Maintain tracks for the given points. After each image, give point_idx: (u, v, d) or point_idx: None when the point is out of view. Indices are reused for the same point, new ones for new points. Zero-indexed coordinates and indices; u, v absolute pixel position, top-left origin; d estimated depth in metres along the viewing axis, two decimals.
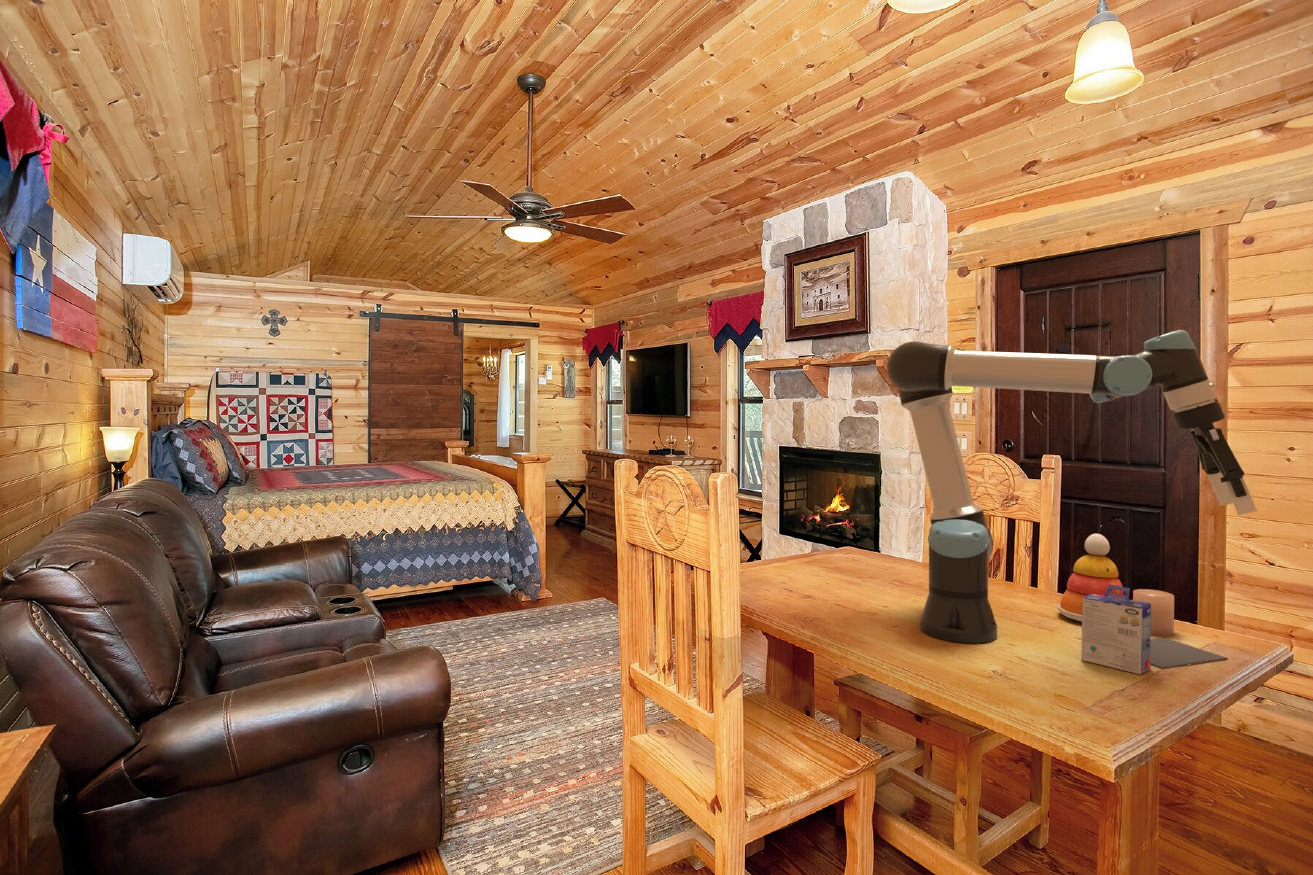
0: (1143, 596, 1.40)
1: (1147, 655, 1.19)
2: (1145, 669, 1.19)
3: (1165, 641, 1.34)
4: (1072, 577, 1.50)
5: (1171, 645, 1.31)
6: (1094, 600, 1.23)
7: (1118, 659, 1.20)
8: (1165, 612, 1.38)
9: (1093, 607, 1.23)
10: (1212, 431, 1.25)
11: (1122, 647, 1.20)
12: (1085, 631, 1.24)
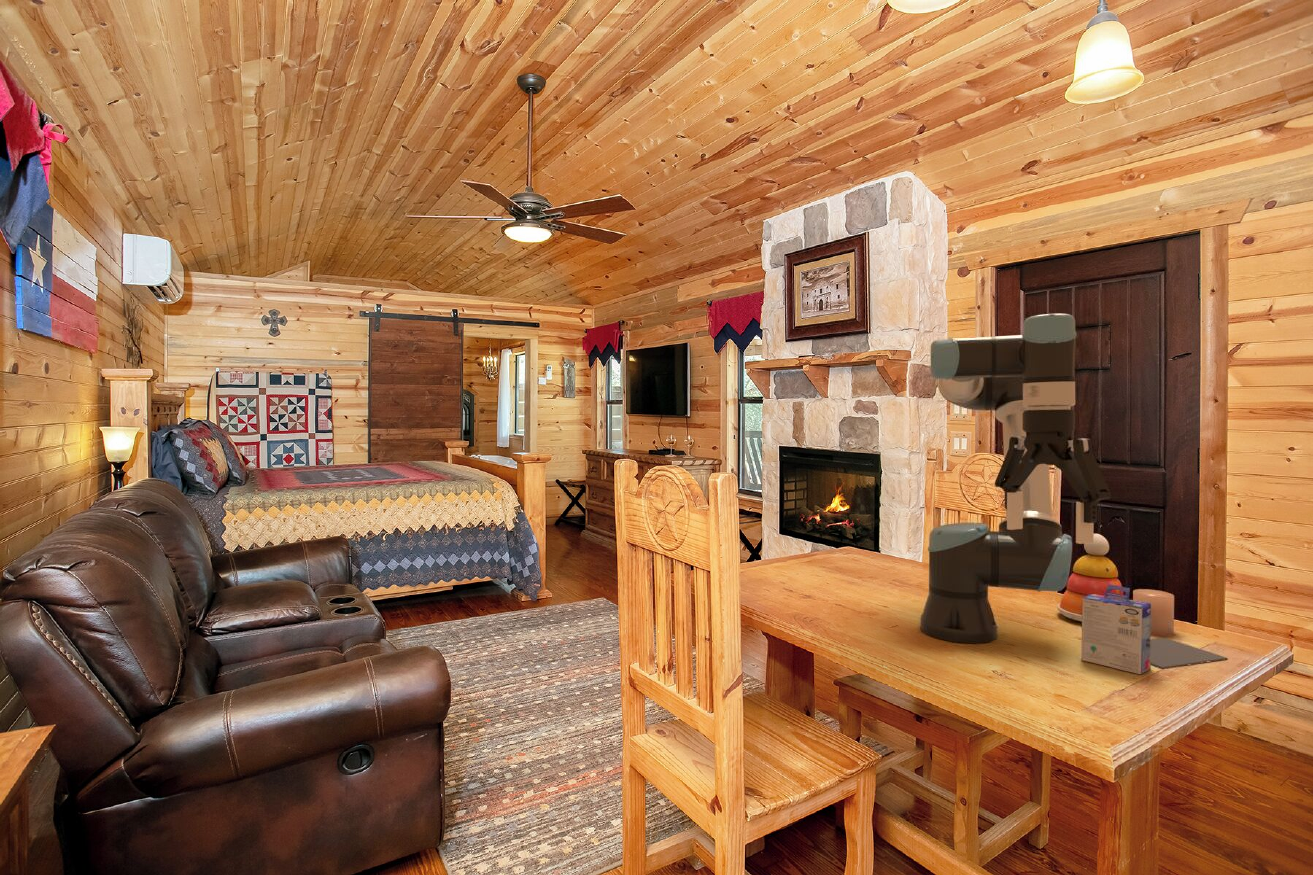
0: (1143, 596, 1.40)
1: (1147, 655, 1.19)
2: (1145, 669, 1.19)
3: (1165, 641, 1.34)
4: (1072, 577, 1.50)
5: (1171, 645, 1.31)
6: (1094, 600, 1.23)
7: (1118, 659, 1.20)
8: (1165, 612, 1.38)
9: (1093, 607, 1.23)
10: None
11: (1122, 647, 1.20)
12: (1085, 631, 1.24)
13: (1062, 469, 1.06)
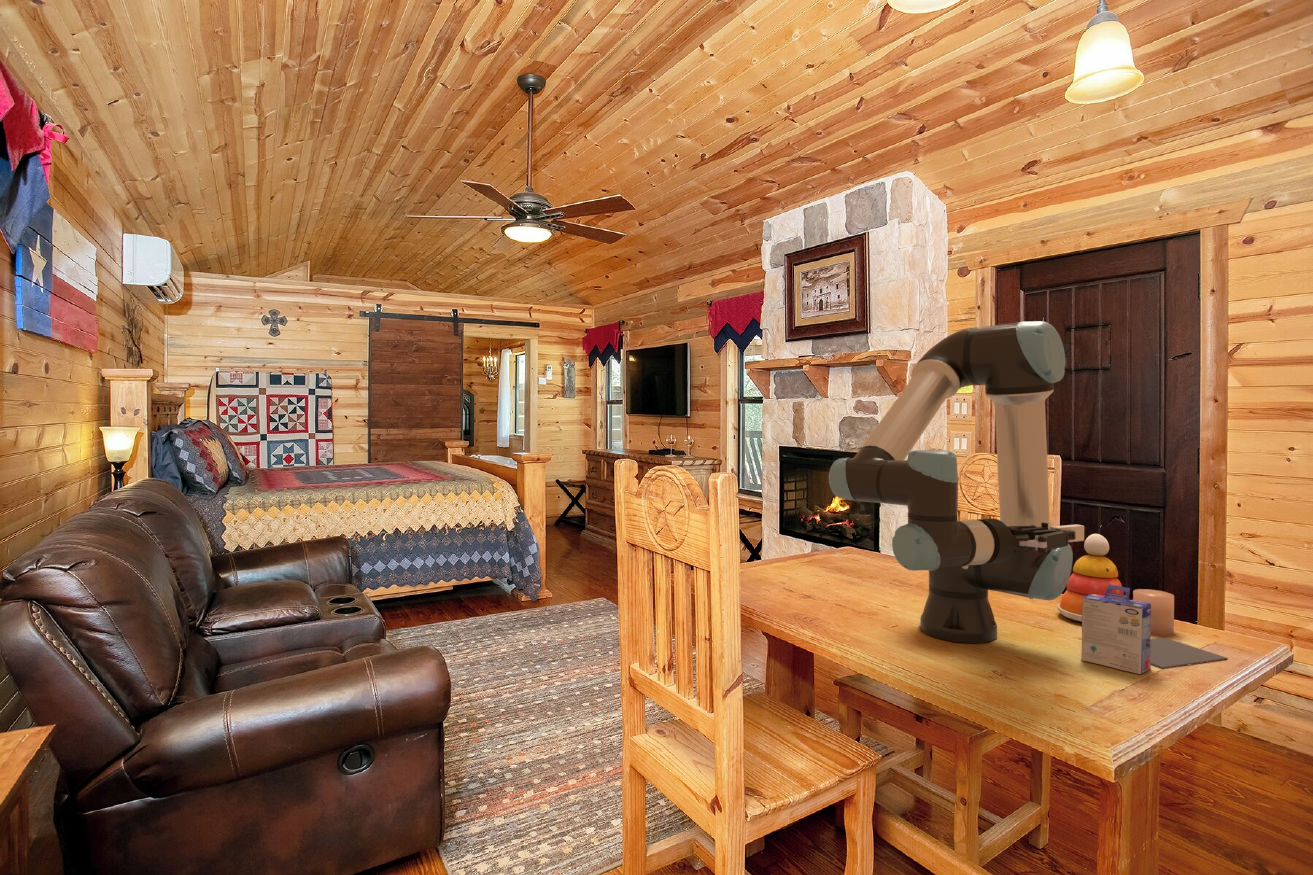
0: (1143, 596, 1.40)
1: (1147, 655, 1.19)
2: (1145, 669, 1.19)
3: (1165, 641, 1.34)
4: (1072, 577, 1.50)
5: (1171, 645, 1.31)
6: (1094, 600, 1.23)
7: (1118, 659, 1.20)
8: (1165, 612, 1.38)
9: (1093, 607, 1.23)
10: None
11: (1122, 647, 1.20)
12: (1085, 631, 1.24)
13: None
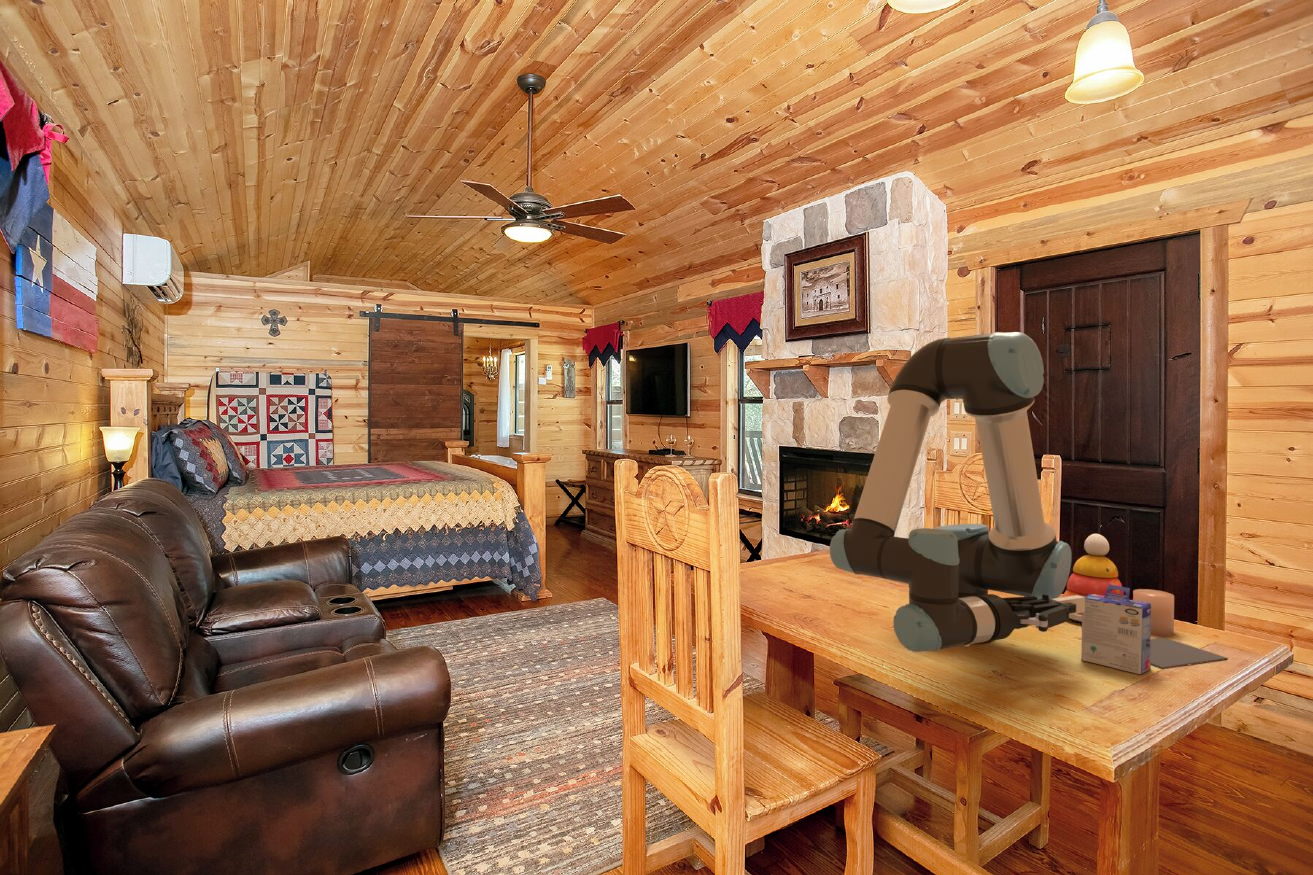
0: (1143, 596, 1.40)
1: (1147, 655, 1.19)
2: (1145, 669, 1.19)
3: (1165, 641, 1.34)
4: (1072, 577, 1.50)
5: (1171, 645, 1.31)
6: (1094, 600, 1.23)
7: (1118, 659, 1.20)
8: (1165, 612, 1.38)
9: (1093, 607, 1.23)
10: None
11: (1122, 647, 1.20)
12: (1085, 631, 1.24)
13: None
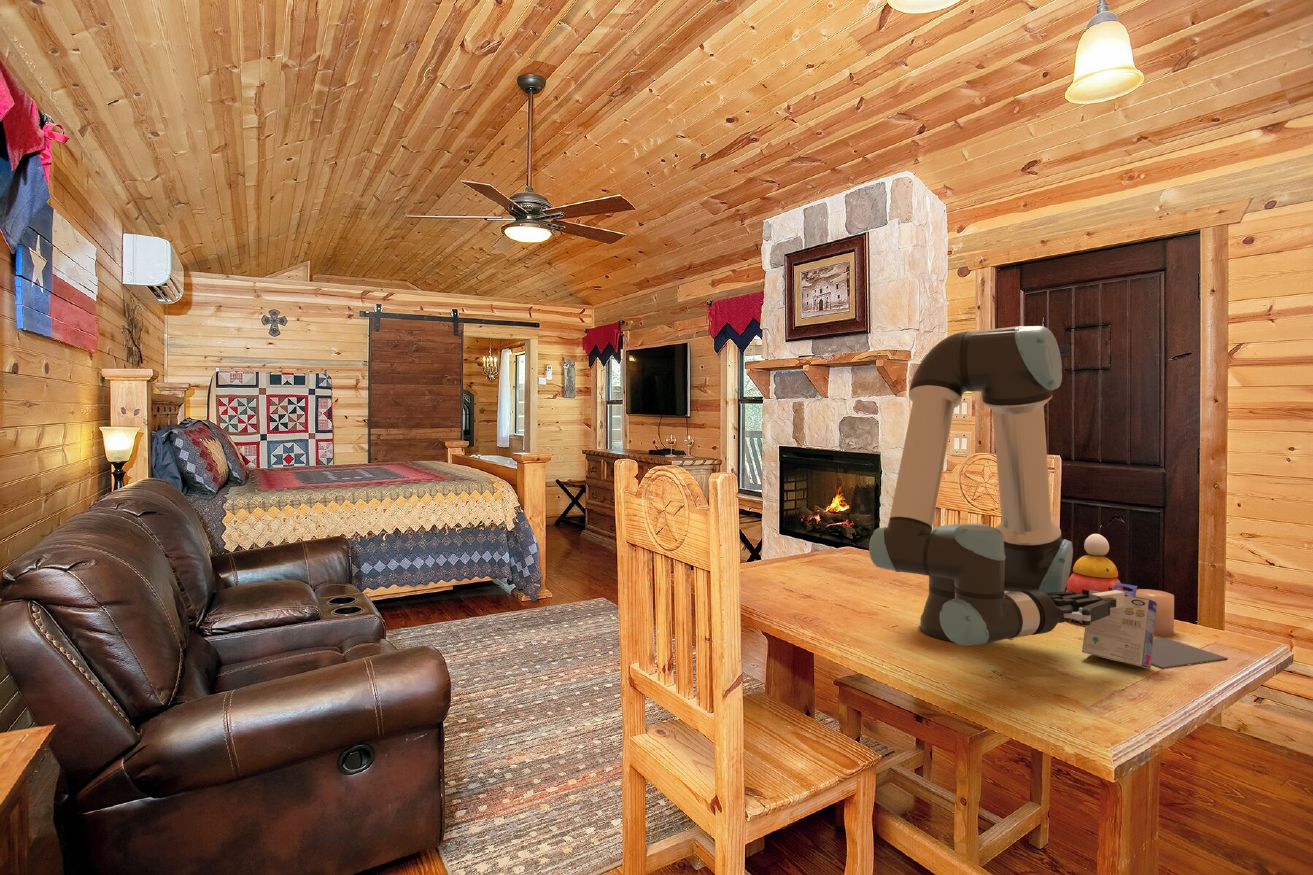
0: (1143, 596, 1.40)
1: (1149, 650, 1.20)
2: (1146, 663, 1.19)
3: (1165, 641, 1.34)
4: (1072, 577, 1.50)
5: (1171, 645, 1.31)
6: (1101, 591, 1.26)
7: (1119, 650, 1.21)
8: (1165, 612, 1.38)
9: None
10: None
11: (1125, 637, 1.21)
12: None
13: None
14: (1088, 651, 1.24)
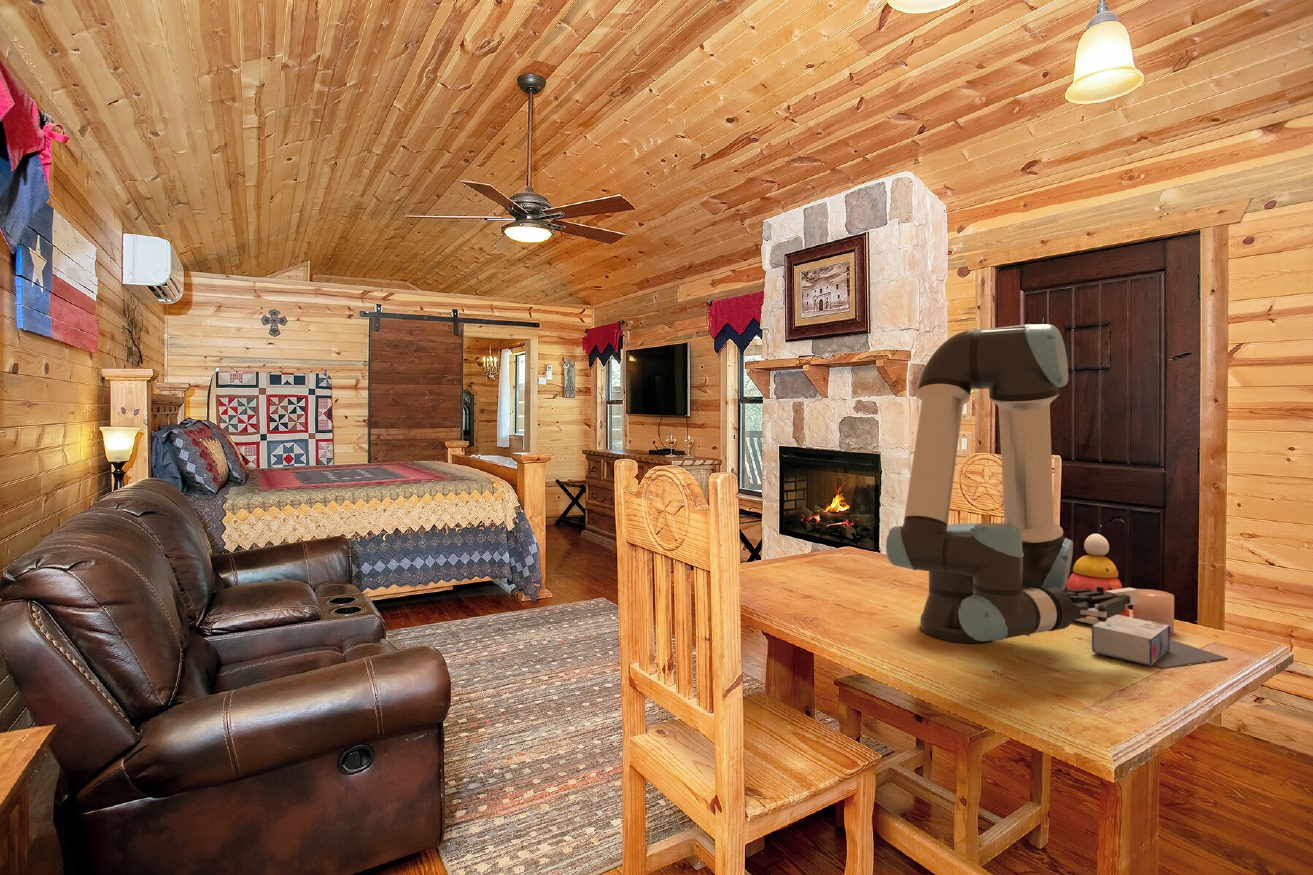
0: (1143, 596, 1.40)
1: (1157, 649, 1.22)
2: (1152, 649, 1.21)
3: None
4: (1072, 577, 1.50)
5: (1171, 645, 1.31)
6: (1124, 616, 1.34)
7: (1131, 631, 1.24)
8: (1165, 612, 1.38)
9: (1121, 617, 1.33)
10: None
11: (1139, 630, 1.25)
12: None
13: None
14: (1099, 626, 1.27)
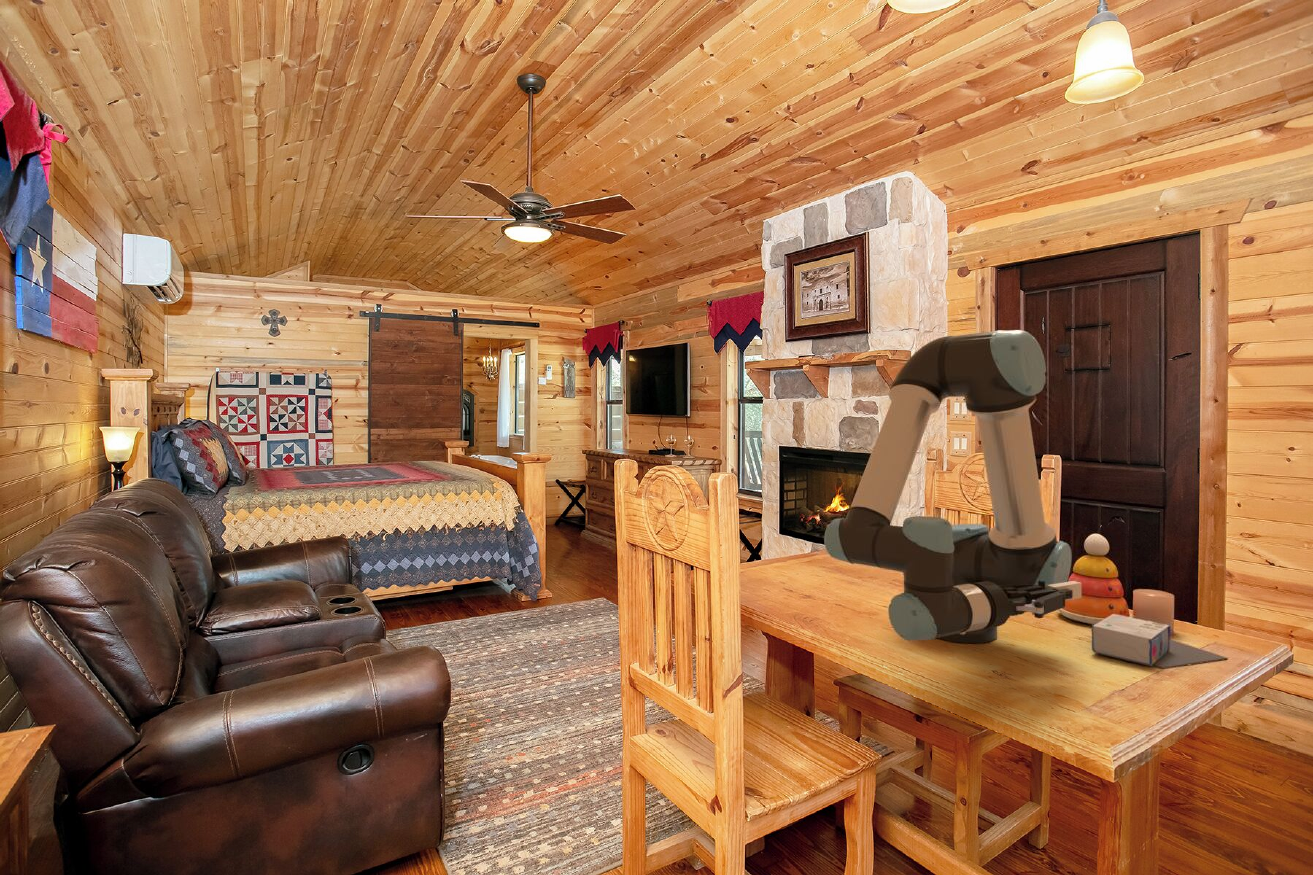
0: (1143, 596, 1.40)
1: (1157, 649, 1.22)
2: (1152, 649, 1.21)
3: None
4: (1072, 577, 1.50)
5: (1171, 645, 1.31)
6: (1124, 616, 1.34)
7: (1131, 631, 1.24)
8: (1165, 612, 1.38)
9: (1121, 617, 1.33)
10: None
11: (1139, 630, 1.25)
12: (1105, 620, 1.31)
13: None
14: (1099, 626, 1.27)
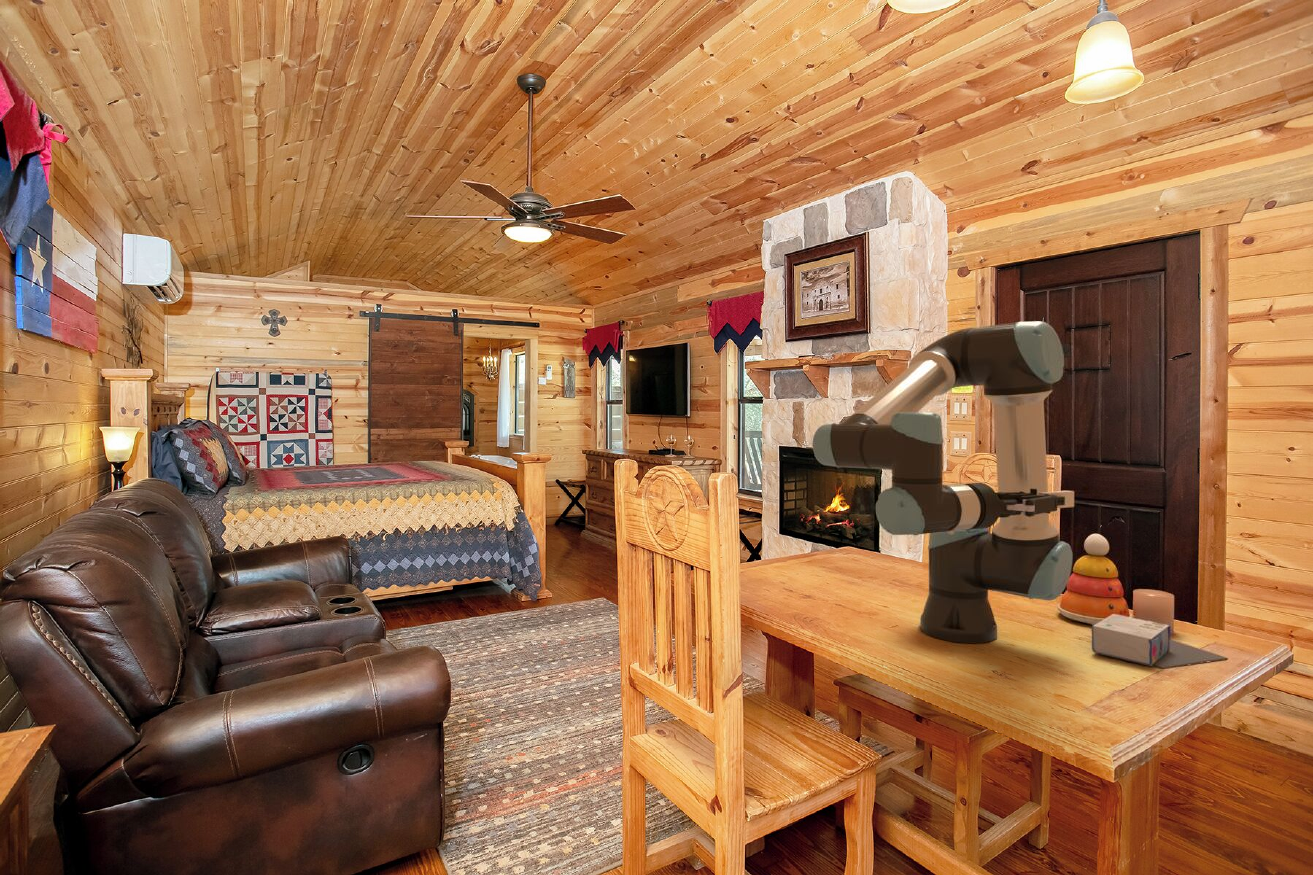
0: (1143, 596, 1.40)
1: (1157, 649, 1.22)
2: (1152, 649, 1.21)
3: None
4: (1072, 577, 1.50)
5: (1171, 645, 1.31)
6: (1124, 616, 1.34)
7: (1131, 631, 1.24)
8: (1165, 612, 1.38)
9: (1121, 617, 1.33)
10: None
11: (1139, 630, 1.25)
12: (1105, 620, 1.31)
13: None
14: (1099, 626, 1.27)
